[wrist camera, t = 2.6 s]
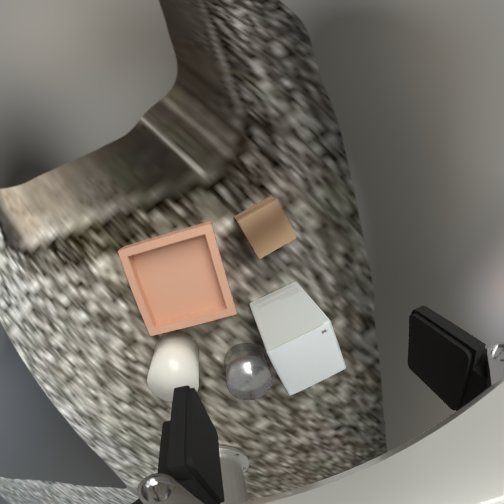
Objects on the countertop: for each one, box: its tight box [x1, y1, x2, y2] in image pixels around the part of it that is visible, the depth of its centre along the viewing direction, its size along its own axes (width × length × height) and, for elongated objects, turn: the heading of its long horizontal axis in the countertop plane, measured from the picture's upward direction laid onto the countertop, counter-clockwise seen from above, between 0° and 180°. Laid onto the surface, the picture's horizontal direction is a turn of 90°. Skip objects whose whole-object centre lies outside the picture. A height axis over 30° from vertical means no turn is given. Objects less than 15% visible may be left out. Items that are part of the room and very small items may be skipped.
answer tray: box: [118, 221, 237, 336], centre depth 36 cm, size 12×12×2 cm
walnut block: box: [234, 197, 297, 259], centre depth 35 cm, size 5×5×5 cm
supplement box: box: [249, 282, 346, 396], centre depth 35 cm, size 7×7×13 cm
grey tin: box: [224, 343, 272, 400], centre depth 39 cm, size 6×6×6 cm
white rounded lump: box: [147, 332, 199, 402], centre depth 36 cm, size 6×6×8 cm
